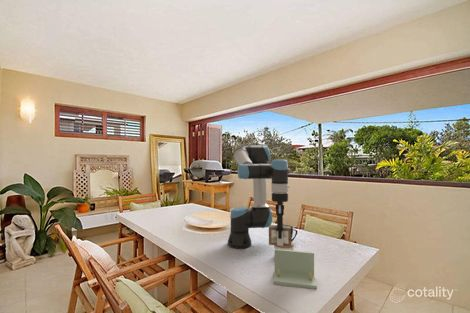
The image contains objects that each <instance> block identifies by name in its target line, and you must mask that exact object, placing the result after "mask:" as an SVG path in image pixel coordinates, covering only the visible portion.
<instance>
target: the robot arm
mask: <svg viewBox="0 0 470 313" xmlns="http://www.w3.org/2000/svg"><path fill="white" fill-rule="evenodd" d="M232 156H233V160H234V161H235V162H236V163H237V177H238V179H240V180H241V179H242V180H252V184H253V187H252V188H253V190H252V191H253V192H252V193H253V203H252V205H251V209H250V208H249V207H248V206H239V207H234V208H233V209H231V211H230V216H229V217H230V232H229V235H228V236H229V237H228V240H227V246H228V247H230V248H232V249H237V250H242V249H248V248H250V247H251V246H252V240H251V239H252V238H251V236H250V233H249V229H257V228H258V229H265V228H269V225H272V222H273V215H274V214H273V210H272V209H271V208H270V206H269V205H268V198H267V196H268V195H267V180H270V179H271V192H272V193H271V201H272V202H275V203H276V204H275V215H276V218H277V219H276V225H277V229H276V231H277V245H279V246H283V225H284V222H283V218H284V214H285V204H283V203H287V202H289V193H288V192H289V189H288V188H290V185H288V183H289V165H288V164H289V163H288V160H287V159H272V160H271V151H270V148H269V147H268V145H263V144H257V145H256V144H244V145H240V146H239V147H237V148H236V149H235V150H234V152H233V155H232ZM270 161H271V163H270Z"/></svg>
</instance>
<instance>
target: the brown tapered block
mask: <svg viewBox="0 0 470 313" xmlns="http://www.w3.org/2000/svg"><path fill="white" fill-rule="evenodd" d="M291 226H292V225H289V226H283V246H291ZM276 229H277V224H276V225H275V224H274V225H273V224H271V225H269V227H268V245H269V246H274V245H277V231H276ZM278 246H279V245H278Z"/></svg>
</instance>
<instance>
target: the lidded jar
mask: <svg viewBox="0 0 470 313" xmlns="http://www.w3.org/2000/svg"><path fill="white" fill-rule="evenodd" d="M273 246H274V250H275V249H281V250H293V251H294V242H293V241H292V242H291V246H278V245H273Z"/></svg>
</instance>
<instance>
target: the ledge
mask: <svg viewBox="0 0 470 313" xmlns="http://www.w3.org/2000/svg"><path fill="white" fill-rule="evenodd" d="M273 272H274V273H273V284H274V285H282V286H290V287H295V288H296V287H297V288H305V289H313V290H317V289H318V286H317V281H316V277H315V252H314V251H313V252H311V251H302V250H294V249H293V250H281V249H275V248H274V271H273Z"/></svg>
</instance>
